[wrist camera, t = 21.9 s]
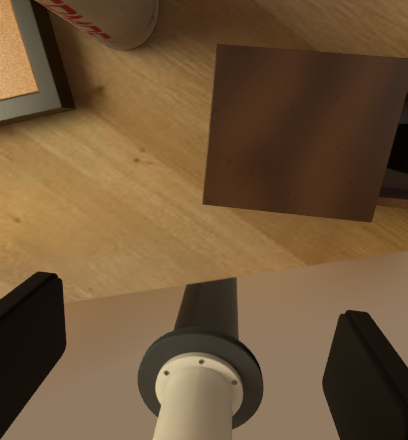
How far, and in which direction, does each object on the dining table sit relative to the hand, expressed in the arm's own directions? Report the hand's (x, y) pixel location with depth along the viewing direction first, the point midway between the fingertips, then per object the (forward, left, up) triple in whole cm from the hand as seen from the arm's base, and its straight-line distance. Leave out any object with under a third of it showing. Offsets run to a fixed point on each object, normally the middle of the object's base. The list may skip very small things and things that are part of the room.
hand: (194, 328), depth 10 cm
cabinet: (+6, -6, -26) cm, 28 cm away
